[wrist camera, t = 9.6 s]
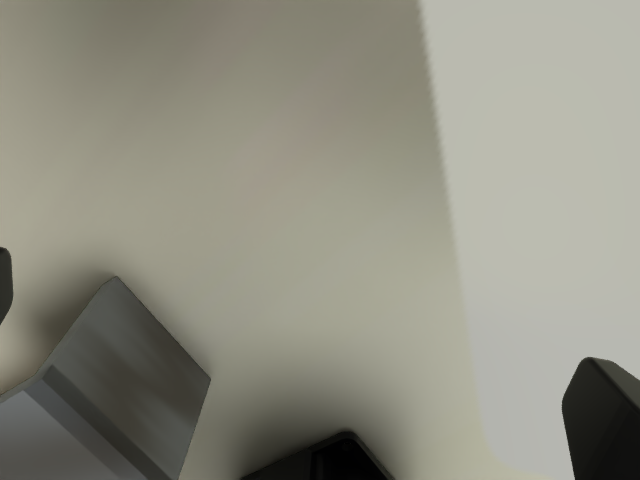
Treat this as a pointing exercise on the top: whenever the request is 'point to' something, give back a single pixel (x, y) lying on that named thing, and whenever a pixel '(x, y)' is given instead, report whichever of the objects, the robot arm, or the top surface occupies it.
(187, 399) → the brown wooden open box
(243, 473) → the top surface
